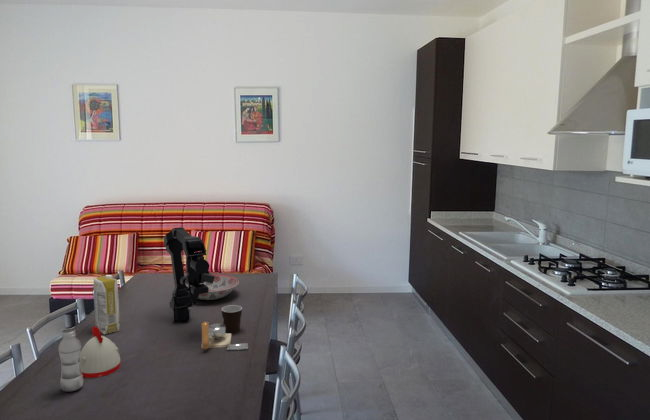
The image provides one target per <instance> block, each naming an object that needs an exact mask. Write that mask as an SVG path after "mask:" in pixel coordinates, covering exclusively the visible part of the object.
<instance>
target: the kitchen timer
mask: <svg viewBox="0 0 650 420" xmlns="http://www.w3.org/2000/svg"><path fill="white" fill-rule="evenodd" d="M91 332H92V338H91V337H90V339H89V340H88V341H87V342H86V343H85V344H84V345H83V347H82V348H81V354H80V365H81V372H82V375H83V378H86V379H87V378H89V379H93V378H100V377H101V378H102V377H105V376H108V375H111V374H113V373H115V372H116V371H117V369H118V370H119V369H120V368H121V366H122V365H121V356H120V351H119V347H117V345H116V343H115V342H113V341H112V340H111V339H109V338H108V337H106V336H104V335H102V333H101V332H100V329H98V327H97V328H96V325H94V326H93V328H91ZM120 365H121V366H120ZM119 367H120V368H119Z"/></svg>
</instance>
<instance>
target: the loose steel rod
mask: <svg viewBox="0 0 650 420" xmlns="http://www.w3.org/2000/svg"><path fill="white" fill-rule="evenodd" d="M242 350H243V351H245V350H247V351H248V350H249V343H247V342H244V343H241V342H240V343H230V344H227V347H226V351H242Z"/></svg>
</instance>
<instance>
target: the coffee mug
mask: <svg viewBox="0 0 650 420" xmlns="http://www.w3.org/2000/svg"><path fill="white" fill-rule="evenodd" d="M242 311H243V307H242V306H240V305H237V304H231V305H226V306H223V307H222V308H221V316H222V324H224V325H225V327H226V333H231V335H236V334H238V333H240V330H241V320H242V313H243V312H242Z"/></svg>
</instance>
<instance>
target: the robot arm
mask: <svg viewBox="0 0 650 420" xmlns="http://www.w3.org/2000/svg"><path fill="white" fill-rule="evenodd" d="M163 245H164V246H165V250H166V251H167V253H168V254H169V255H170V261H171V267H172V268H171V269H172V274H173V283H174V289H173V290H172V293H171V296H172V297H171V299H170V301H169V307H170V309H171V310H172V311H173V320H172V323H173V324H182V323H185V324H187V323H189V321H190V319H191V309H190V308H192V307H193V306H195V305H196V306H197V302H198V296H199V294H203V293H208V292H209V288H208V287H207V286H206V285H205V284H200V283H204V282H208V283H211V284H213V282H214V279H215V276H214V275H212V274H213V273H210V271H209V269H210V264H209V262H208V260H206V259H205V256H206V255H207V249H206V245H205V243H204V241H203V239H202V238H201V237H199V236H196V235H195V236H194V235H192V234H190V233H189V232H188V231H187V230H186V229H185V228H184V227H182V226H180V227H173V228H171V230H170V231H169V232H167V233H166V234H165V236H164V237H163ZM182 252H183V253H184V254H185V265H186V266H185V267H186V269H184V264H183V256H182ZM184 270H185V271H184ZM185 275H186V276H185ZM185 282H186V283H185ZM186 284H187V286H186Z"/></svg>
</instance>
